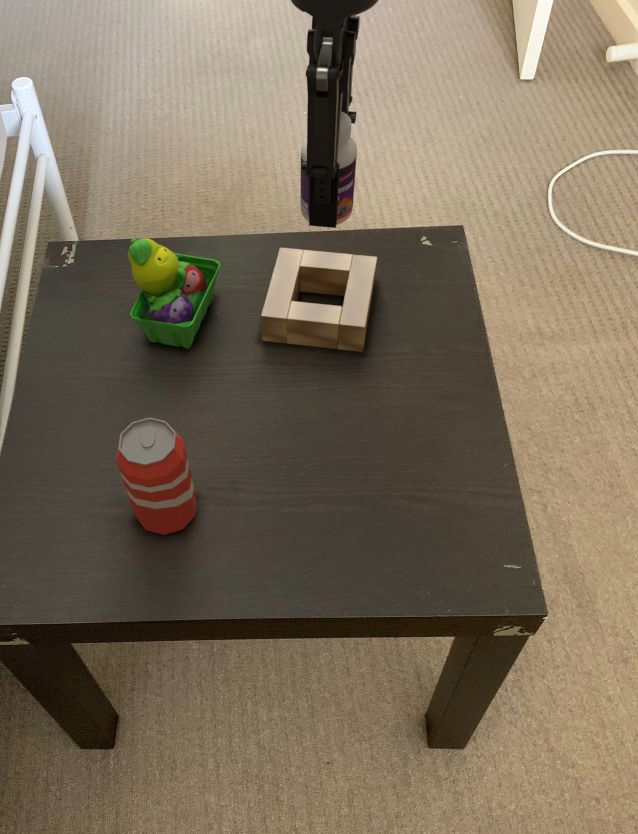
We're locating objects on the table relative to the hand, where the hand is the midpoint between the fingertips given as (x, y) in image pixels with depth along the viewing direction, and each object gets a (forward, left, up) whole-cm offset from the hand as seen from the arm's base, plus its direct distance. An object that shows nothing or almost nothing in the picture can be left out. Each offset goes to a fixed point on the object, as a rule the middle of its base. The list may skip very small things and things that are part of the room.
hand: (327, 204), depth 77 cm
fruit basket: (+18, +2, -16) cm, 24 cm away
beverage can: (+12, +29, -16) cm, 36 cm away
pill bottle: (0, 0, -1) cm, 1 cm away
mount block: (+1, -2, -16) cm, 16 cm away
